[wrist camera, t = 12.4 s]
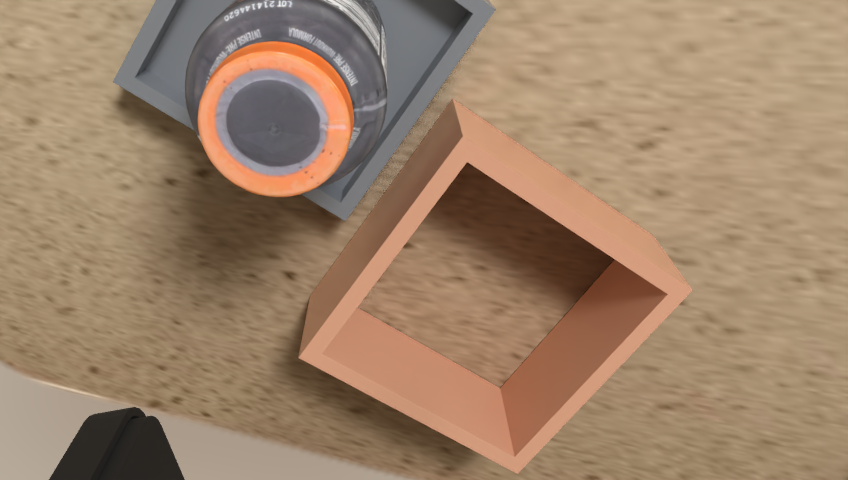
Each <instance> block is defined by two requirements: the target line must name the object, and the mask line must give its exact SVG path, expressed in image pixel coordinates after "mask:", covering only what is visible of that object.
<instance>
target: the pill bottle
mask: <svg viewBox="0 0 848 480" xmlns="http://www.w3.org/2000/svg"><path fill="white" fill-rule="evenodd" d="M386 58H387V56H386V36H385V29H384V25H383V22H382V19H381V16H380V13H379V11H378V9H377V7H376V6H375V4H374V2H373V1H372V0H235V1H233V2H232V3H231V4H230V5H229V6H228V7H227V8H226V9H225V10H224V11H223V12H222V13H221V14H220V15H218V16H217V17H216V18H215V19H214V20H213V21H212V22H211V23H210V25H209V26H208V27H207V28H206V29H205V30H204V31H203V33H202V34H201V35H200V37H199V39H198V40H197V42H196V44H195V46H194V48H193V50H192V53H191V56H190V58H189V61H188V66H187V68H186V77H185V99H186V105H187V110H188V114H189V117H190V120H191V123H192V126H193V128H194V131H195V133H196V135H197V136H198V138H199V139H200V141H201V142H202V145H203V147H204V150H205V152H206V154H207V156H208V158H209V159H210V161H211V162H212V163H213V165H214V166H215V167H216V168H217V169H218V171H219V172H220V173H221V174H222V175H223V176H224V177H225V178H227V179H228V180H229V181H231V182H232V183H234V184H235V185H237V186H239V187H241V188H243V189H245V190H247V191H249V192H252V193H255V194H258V195H263V196H270V197H289V196H295V195H299V194H302V193H305V192H308V191H311V190H313V189H317V188H320V187H323V186H326V185H329V184H331V183H333V182H335V181H338V180H340V179H341V178H343V177H344V176H346V175H347V174H349V173H350V172H352V171H353V170H354V169H355V168H356V167H357V166H358V165H359V164H361V163H362V162H363V161H364V159H365V158H366V157H367V156H368V154H369V153H370V152H371V150H372V149H373V147H374V145H375V144H376V142H377V140H378V138H379V135H380V132H381V130H382V128H383V124H384V121H385V115H386V111H387V59H386Z"/></svg>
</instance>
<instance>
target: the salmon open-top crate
mask: <svg viewBox="0 0 848 480" xmlns="http://www.w3.org/2000/svg"><path fill="white" fill-rule="evenodd" d="M467 162H468V163H470V164H471V165H473V166H474V167H476V168H477V169H479V170H480V171H482V172H483V173H485V174H486V175H488V176H489V177H491V178H492V179H494V180H495V181H497V182H498V183H500V184H501V185H503V186H504V187H506V188H507V189H509V190H510V191H512V192H513V193H515V194H517V195H518V196H520V197H521V198H523V199H524V200H526V201H527V202H529V203H530V204H532V205H533V206H535V207H536V208H538V209H539V210H541V211H542V212H544V213H545V214H547V215H548V216H550V217H551V218H553V219H554V220H556V221H557V222H559V223H560V224H562V225H564V226H565V227H567V228H568V229H570V230H571V231H573V232H574V233H576V234H577V235H579V236H580V237H582V238H583V239H585V240H586V241H588V242H589V243H591V244H592V245H594V246H595V247H597V248H598V249H600V250H601V251H603V252H604V253H606V254H607V255H609V256H611V257H612V258H614V259H615V260H614V261H613V262H612V263H611V264H610V265H609V266H608V268H607V269H606V270H605V271H604V272H603V273H602V274H601V275H600V277H599V278H598V279H597V280H596V281H595V282H594V283H593V284H592V286H591V287H590V288H589V289H588V290H587V291H586V292H585V293H584V295H583V296H582V297H581V298H580V299H579V300H578V301H577V302H576V304H575V305H574V306H573V307H572V308H571V309H570V310H569V311H568V313H567V314H566V315H565V316H564V317H563V318H562V319H561V320H560V322H559V323H558V324H557V325H556V326H555V327H554V328H553V329H552V331H551V332H550V333H549V334H548V335H547V336H546V337H545V338H544V340H543V341H542V342H541V343H540V344H539V345H538V346H537V347H536V349H535V350H534V351H533V352H532V353H531V354H530V355H529V356H528V358H527V359H526V360H525V361H524V362H523V363H522V364H521V365H520V367H519V368H518V369H517V370H516V371H515V372H514V373H513V374H512V376H511V377H510V378H509V379H508V380H507V381H506V382H505V383H504V385H503V386H502V387H501V388H499V387H497V386H495V385H494V384H492V383H490V382H488V381H486V380H485V379H483V378H481V377H479V376H478V375H476V374H474V373H472V372H471V371H469V370H467V369H465V368H463V367H462V366H460V365H458V364H456V363H455V362H453V361H451V360H449V359H447V358H446V357H444V356H442V355H440V354H439V353H437V352H435V351H433V350H432V349H430V348H428V347H426V346H424V345H423V344H421V343H419V342H417V341H416V340H414V339H412V338H410V337H409V336H407V335H405V334H403V333H401V332H400V331H398V330H396V329H394V328H393V327H391V326H389V325H387V324H385V323H384V322H382V321H380V320H378V319H377V318H375V317H373V316H371V315H370V314H368V313H366V312H364V311H362V310H361V309H359V308H357V307H358V306H359V304H360V303H361V302H362V300H363V299H364V298H365V296H366V295H367V294H368V292H369V291H370V290H371V288H372V287H373V286H374V284H375V283H376V282H377V281H378V279H379V278H380V277H381V275H382V274H383V273H384V271H385V270H386V269H387V267H388V266H389V265H390V263H391V262H392V261H393V259H394V258H395V257H396V255H397V254H398V253H399V251H400V250H401V249H402V247H403V246H404V245H405V243H406V242H407V241H408V240H409V238H410V237H411V236H412V234H413V233H414V232H415V230H416V229H417V228H418V226H419V225H420V224H421V222H422V221H423V220H424V218H425V217H426V216H427V214H428V213H429V212H430V210H431V209H432V208H433V206H434V205H435V204H436V203H437V201H438V200H439V199H440V197H441V196H442V195H443V193H444V192H445V191H446V189H447V188H448V187H449V185H450V184H451V183H452V181H453V180H454V179H455V177H456V176H457V175H458V173H459V172H460V171H461V169H462V168H463V167H464V165H465V164H466V163H467ZM691 291H692V289H691V287H690V286H689V284H688V283H687V282H686V280H685V279H684V278H683V276H682V275H681V273H680V272H679V271H678V269H677V268H676V266H675V265H674V264H673V262H672V261H671V260H670V258H669V257H668V255H667V254H666V253H665V251H664V250H663V248H662V247H661V246H660V244H659V243H658V242H657V240H656V239H655V237H654V236H653V235H651V234H650V233H648V232H647V231H645V230H644V229H642V228H641V227H640V226H638V225H637V224H635V223H634V222H632V221H631V220H629V219H628V218H626V217H625V216H623V215H622V214H621V213H619V212H618V211H616V210H615V209H613V208H612V207H610V206H609V205H607V204H606V203H604V202H603V201H602V200H600V199H599V198H597V197H596V196H594V195H593V194H591V193H590V192H588V191H587V190H585V189H584V188H583V187H581V186H580V185H578V184H577V183H575V182H574V181H572V180H571V179H569V178H568V177H566V176H565V175H564V174H562V173H561V172H559V171H558V170H556V169H555V168H553V167H552V166H550V165H549V164H547V163H546V162H545V161H543V160H542V159H540V158H539V157H537V156H536V155H534V154H533V153H531V152H530V151H528V150H527V149H526V148H524V147H523V146H521V145H520V144H518V143H517V142H515V141H514V140H512V139H511V138H509V137H508V136H507V135H505V134H504V133H502V132H501V131H499V130H498V129H496V128H495V127H493V126H492V125H490V124H489V123H487V122H486V121H485V120H483V119H482V118H480V117H479V116H477V115H476V114H474V113H473V112H471V111H470V110H468V109H467V108H466V107H464V106H463V105H461V104H460V103H458V102H457V101H455V100H454V99H452V100H451V102H450V103H449V105H448V106H447V107H446V109H445V110H444V111H443V113H442V114H441V116H440V117H439V118H438V120H437V121H436V123H435V124H434V125H433V127H432V128H431V129H430V131H429V132H428V134H427V135H426V136H425V138H424V139H423V141H422V142H421V143H420V145H419V146H418V147H417V149H416V150H415V152H414V153H413V154H412V156H411V157H410V159H409V160H408V161H407V163H406V164H405V166H404V167H403V168H402V170H401V171H400V172H399V174H398V175H397V177H396V178H395V179H394V181H393V182H392V184H391V185H390V186H389V188H388V189H387V190H386V192H385V193H384V195H383V196H382V197H381V199H380V200H379V202H378V203H377V204H376V206H375V207H374V208H373V210H372V211H371V213H370V214H369V215H368V217H367V218H366V220H365V221H364V222H363V224H362V225H361V226H360V228H359V229H358V231H357V232H356V233H355V235H354V236H353V238H352V239H351V240H350V242H349V243H348V244H347V246H346V247H345V249H344V250H343V251H342V253H341V254H340V256H339V257H338V258H337V260H336V261H335V262H334V264H333V265H332V267H331V268H330V269H329V271H328V272H327V274H326V275H325V276H324V278H323V279H322V280H321V282H320V283H319V285H318V286H317V287H316V289H315V290H314V292H313V293H312V294H311V296H310V299H309V305H308V310H307V315H306V320H305V326H304V331H303V336H302V342H301V347H300V352H299V357H298V358H300V359H302V360H304V361H305V362H307V363H309V364H311V365H313V366H315V367H317V368H319V369H321V370H322V371H324V372H326V373H328V374H330V375H332V376H334V377H336V378H338V379H339V380H341V381H343V382H345V383H347V384H349V385H351V386H353V387H355V388H356V389H358V390H360V391H362V392H364V393H366V394H368V395H370V396H372V397H373V398H375V399H377V400H379V401H381V402H383V403H385V404H387V405H389V406H390V407H392V408H394V409H396V410H398V411H400V412H402V413H404V414H406V415H407V416H409V417H411V418H413V419H415V420H417V421H419V422H421V423H423V424H424V425H426V426H428V427H430V428H432V429H434V430H436V431H438V432H440V433H441V434H443V435H445V436H447V437H449V438H451V439H453V440H455V441H457V442H459V443H460V444H462V445H464V446H466V447H468V448H470V449H472V450H474V451H476V452H477V453H479V454H481V455H483V456H485V457H487V458H489V459H491V460H493V461H494V462H496V463H498V464H500V465H502V466H504V467H506V468H508V469H510V470H511V471H513V472H515V473H517V474H518V473H519V472H520V471H521V470H522V468H523V467H524V466H525V465H526V464H527V463H528V462H529V461H530V460H531V459H532V458H533V457H534V456H535V455H536V454H537V453H538V452H539V451H540V450H541V449H542V447H543V446H544V445H545V444H546V443H547V442H548V441H549V440H550V439H551V438H552V437H553V436H554V435H555V434H556V433H557V432H558V431H559V430H560V429H561V428H562V427H563V425H564V424H565V423H566V422H567V421H568V420H569V419H570V418H571V417H572V416H573V415H574V414H575V413H576V412H577V411H578V410H579V409H580V408H581V407H582V406H583V404H584V403H585V402H586V401H587V400H588V399H589V398H590V397H591V396H592V395H593V394H594V393H595V392H596V391H597V390H598V389H599V388H600V387H601V386H602V385H603V384H604V382H605V381H606V380H607V379H608V378H609V377H610V376H611V375H612V374H613V373H614V372H615V371H616V370H617V369H618V368H619V367H620V366H621V365H622V364H623V363H624V361H625V360H626V359H627V358H628V357H629V356H630V355H631V354H632V353H633V352H634V351H635V350H636V349H637V348H638V347H639V346H640V345H641V344H642V343H643V342H644V341H645V339H646V338H647V337H648V336H649V335H650V334H651V333H652V332H653V331H654V330H655V329H656V328H657V327H658V326H659V325H660V324H661V323H662V322H663V321H664V320H665V319H666V317H667V316H668V315H669V314H670V313H671V312H672V311H673V310H674V309H675V308H676V307H677V306H678V305H679V304H680V303H681V302H682V301H683V300H684V299H685V298H686V296H687V295H688V294H689V293H690V292H691Z"/></svg>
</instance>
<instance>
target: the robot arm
mask: <svg viewBox="0 0 848 480" xmlns="http://www.w3.org/2000/svg"><path fill="white" fill-rule="evenodd" d="M49 480H184V477H183V475H182V473H181V470H180V468H179V466H178V463H177V461H176V459H175V456H174V454H173V452H172V449H171V447H170V445H169V442H168V440H167V438H166V435H165V433H164V431H163V428H162V426H161V424H160V422H159V420H158V419H157V418H156V417H154V416H147V417H146V416H145V414H144V412H142V411H141V410H140V409H139V408H136V407H132V408H126V409H121V410H115V411H110V412H105V413H98V414H94V415H91V416H89V417H88V418H87V419H86V420H85V422H84V423H83V425H82V426H81V428H80V430H79V431H78V433H77V435H76V436H75V438H74V439H73V441H72V443H71V444H70V446H69V448H68V449H67V451H66V453H65V454H64V456H63V458H62V459H61V461H60V463H59V464H58V466H57V468H56V469H55V471H54V473H53V474H52V476H51V477H50V479H49Z"/></svg>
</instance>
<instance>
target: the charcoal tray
mask: <svg viewBox="0 0 848 480" xmlns="http://www.w3.org/2000/svg"><path fill="white" fill-rule="evenodd" d="M233 1H235V0H156V2H155V3H154V5H153V7H152V9H151V11H150V13H149V15H148V17H147V19H146V20H145V22H144V24H143V26H142V28H141V30H140V32H139V34H138V35H137V37H136V39H135V41H134V43H133V45H132V47H131V49H130V51H129V52H128V54H127V56H126V58H125V60H124V62H123V64H122V66H121V67H120V69H119V71H118V73H117V75H116V77H115V79H114V81H113V82H114V83H115V84H117V85H119V86H120V87H122V88H124V89H125V90H127V91H129V92H130V93H132V94H134V95H136V96H137V97H139V98H141V99H142V100H144V101H146V102H147V103H149V104H151V105H152V106H154V107H156V108H157V109H159V110H161V111H162V112H164V113H166V114H167V115H169V116H171V117H172V118H174V119H176V120H177V121H179V122H181V123H182V124H184V125H186V126H187V127H189V128H191V129H192V130H194V128H193V126H192V123H191V120H190V117H189V114H188V110H187V105H186V99H185V77H186V68H187V66H188V61H189V58H190V56H191V53H192V50H193V48H194V46H195V44H196V42H197V40H198V39H199V37H200V35H201V34H202V33H203V31H204V30H205V29H206V28H207V27H208V26H209V25H210V23H211V22H212V21H213V20H214V19H215V18H216V17H217V16H218V15H220V14H221V13H222V12H223V11H224V10H225V9H226V8H227V7H228V6H229V5H230V4H231V3H232V2H233ZM372 1H373V2H374V4H375V6H376V7H377V9H378V11H379V13H380V16H381V19H382V22H383V25H384V29H385V36H386V56H387V58H386V59H387V111H386V115H385V121H384V124H383V128H382V130H381V132H380V135H379V138H378V140H377V142H376V144H375V145H374V147H373V149H372V150H371V152H370V153H369V154H368V156H367V157H366V158H365V159H364V161H363V162H362V163H361V164H359V165H358V166H357V167H356V168H355V169H354V170H353V171H352V172H350V173H349V174H347V175H346V176H344V177H343V178H341V179H340V180H338V181H335V182H333V183H331V184H329V185H326V186H323V187H320V188H317V189H313V190H311V191H308V192H305V193H302V194H301V195H302V196H304V197H306V198H307V199H309V200H311V201H312V202H314V203H316V204H317V205H319V206H321V207H322V208H324V209H326V210H327V211H329V212H331V213H332V214H334V215H336V216H337V217H339V218H341V219H342V220H344V221H346V220H347V218H348V217H349V215H350V214H351V212H352V211H353V210H354V208H355V207H356V205H357V204H358V203H359V201H360V200H361V198H362V197H363V196H364V194H365V193H366V191H367V190H368V189H369V187H370V186H371V184H372V183H373V182H374V180H375V179H376V177H377V176H378V174H379V173H380V172H381V170H382V169H383V167H384V166H385V165H386V163H387V162H388V160H389V159H390V158H391V156H392V155H393V153H394V152H395V151H396V149H397V148H398V146H399V145H400V144H401V142H402V141H403V139H404V138H405V137H406V135H407V134H408V132H409V131H410V129H411V128H412V127H413V125H414V124H415V122H416V121H417V120H418V118H419V117H420V115H421V114H422V113H423V111H424V110H425V108H426V107H427V106H428V104H429V103H430V101H431V100H432V99H433V97H434V96H435V94H436V93H437V91H438V90H439V89H440V87H441V86H442V84H443V83H444V82H445V80H446V79H447V77H448V76H449V75H450V73H451V72H452V70H453V69H454V68H455V66H456V65H457V63H458V62H459V61H460V59H461V58H462V56H463V55H464V54H465V52H466V51H467V49H468V48H469V46H470V45H471V44H472V42H473V41H474V39H475V38H476V37H477V35H478V34H479V32H480V31H481V30H482V28H483V27H484V25H485V24H486V23H487V21H488V20H489V18H490V17H491V16H492V14H493V13H494V11H495V10H496V9H495V8H494V7H493V5H492V4H491V3H490V1H488V0H372Z"/></svg>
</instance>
